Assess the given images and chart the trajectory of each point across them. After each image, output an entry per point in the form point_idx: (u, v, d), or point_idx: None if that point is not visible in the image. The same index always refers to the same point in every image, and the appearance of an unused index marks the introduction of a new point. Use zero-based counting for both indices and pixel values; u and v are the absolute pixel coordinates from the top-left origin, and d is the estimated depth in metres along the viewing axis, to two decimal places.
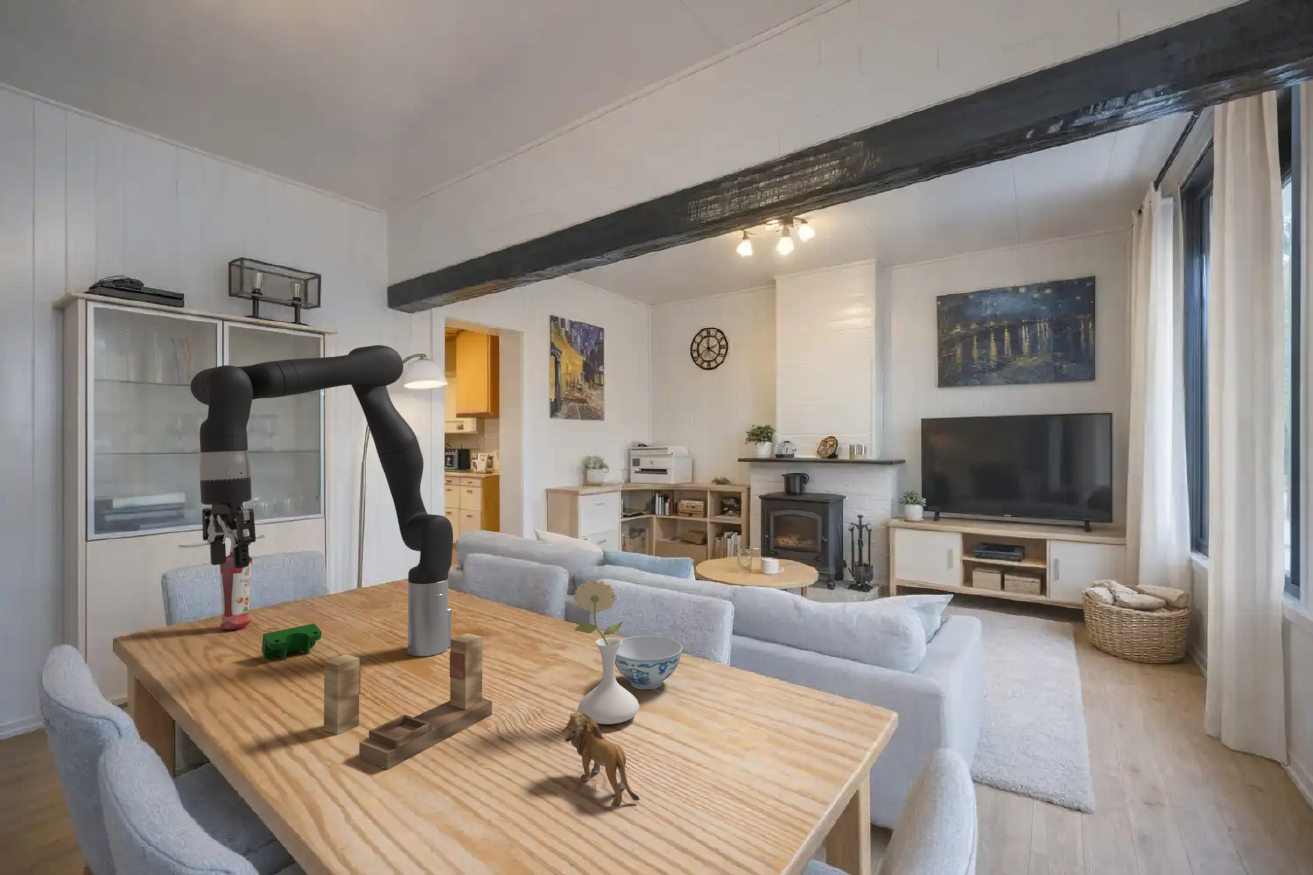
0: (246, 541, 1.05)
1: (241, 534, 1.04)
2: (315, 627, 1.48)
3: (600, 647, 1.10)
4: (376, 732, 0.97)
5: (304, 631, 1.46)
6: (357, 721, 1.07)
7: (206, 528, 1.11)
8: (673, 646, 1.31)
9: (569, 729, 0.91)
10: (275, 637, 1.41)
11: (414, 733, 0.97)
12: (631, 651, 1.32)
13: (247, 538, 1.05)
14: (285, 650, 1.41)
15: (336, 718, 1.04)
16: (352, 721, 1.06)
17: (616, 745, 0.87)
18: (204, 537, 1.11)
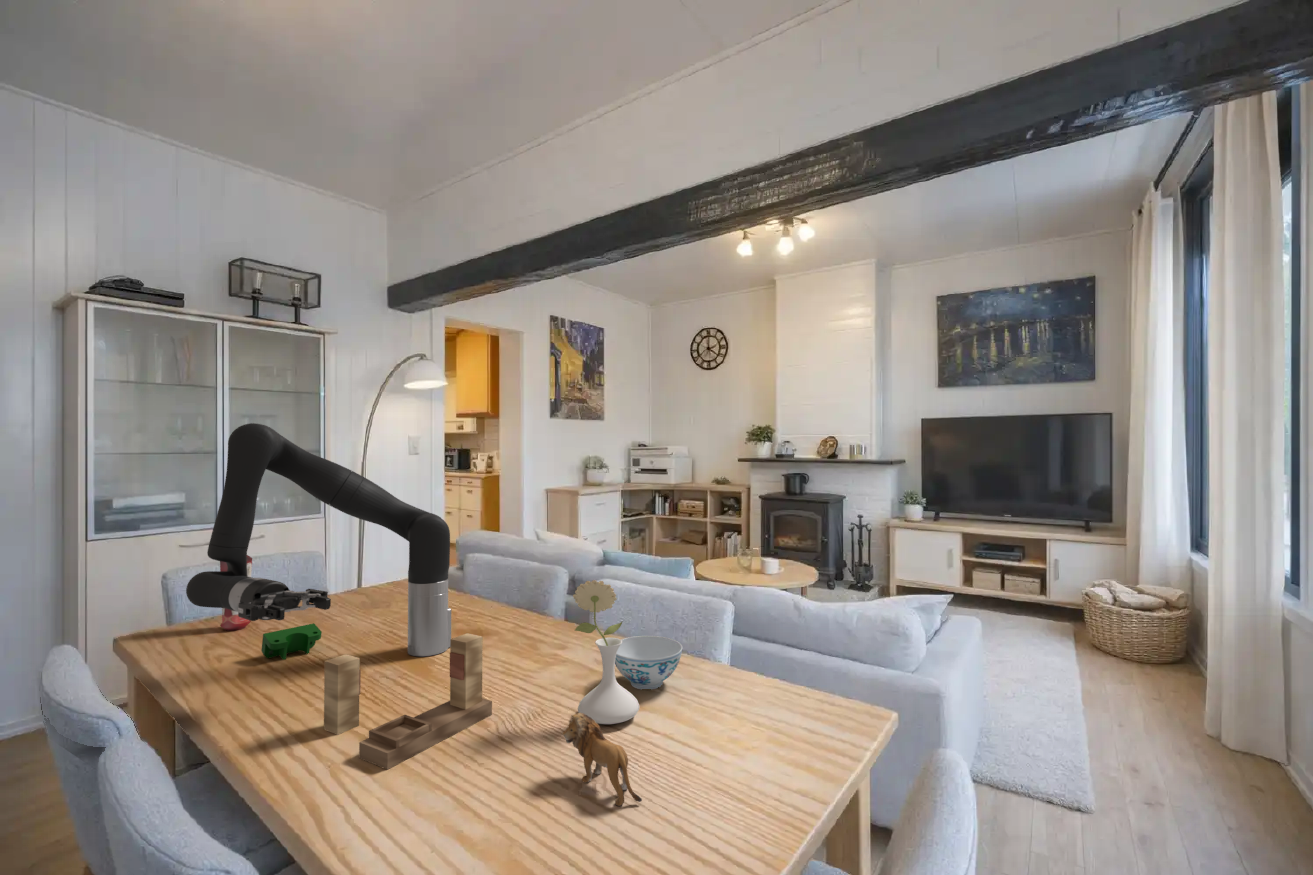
0: (251, 615, 1.09)
1: (247, 618, 1.09)
2: (315, 627, 1.49)
3: (600, 647, 1.10)
4: (376, 732, 0.97)
5: (304, 631, 1.46)
6: (357, 721, 1.07)
7: None
8: (673, 646, 1.31)
9: (571, 730, 0.91)
10: (275, 637, 1.41)
11: (414, 733, 0.97)
12: (631, 651, 1.32)
13: (250, 614, 1.09)
14: (285, 650, 1.41)
15: (336, 718, 1.04)
16: (352, 721, 1.06)
17: (618, 746, 0.87)
18: None
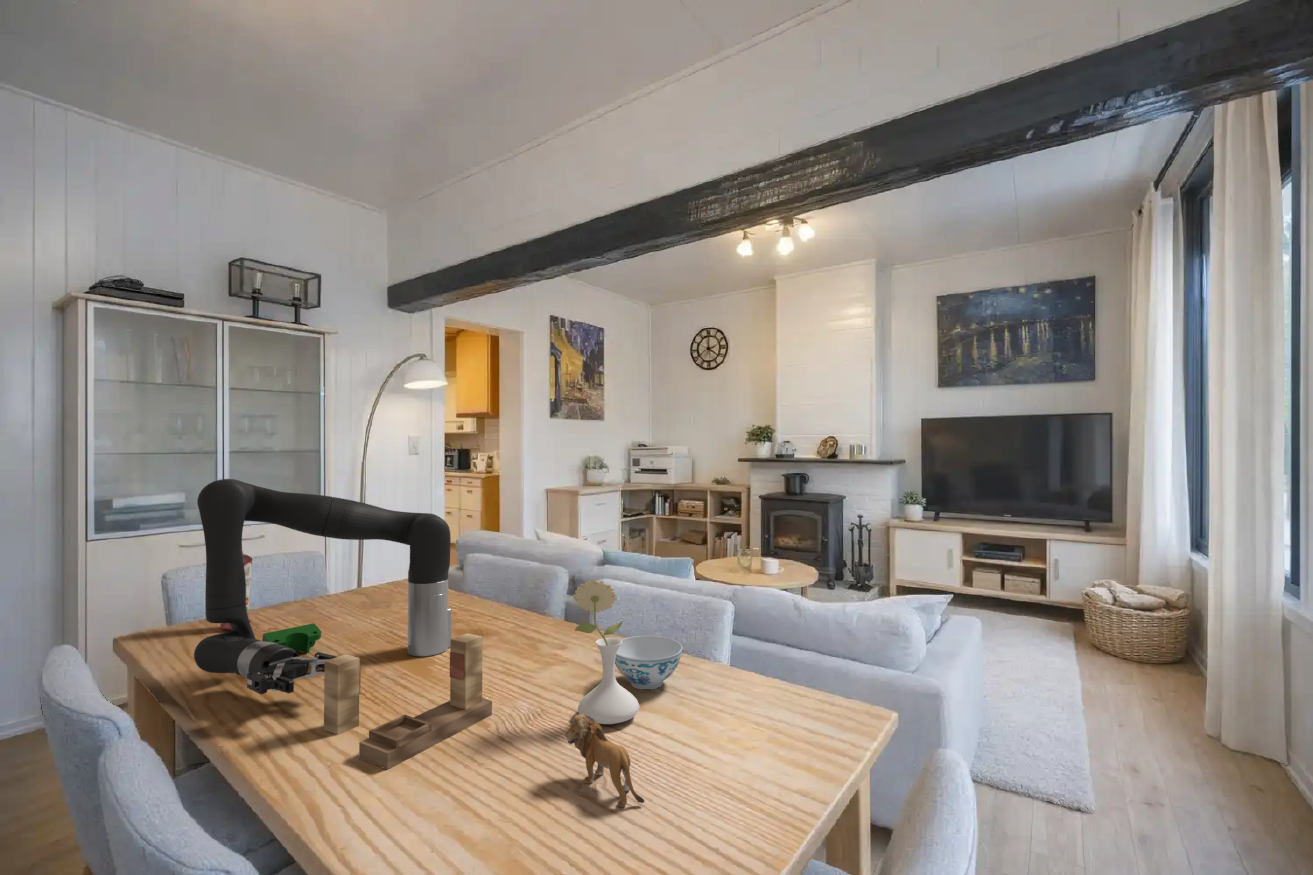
0: (260, 688, 1.07)
1: (256, 691, 1.08)
2: (315, 627, 1.49)
3: (600, 647, 1.10)
4: (376, 732, 0.97)
5: (304, 631, 1.46)
6: (357, 721, 1.07)
7: None
8: (673, 646, 1.31)
9: (572, 731, 0.90)
10: (274, 636, 1.41)
11: (414, 733, 0.97)
12: (631, 651, 1.32)
13: (259, 686, 1.07)
14: None
15: (336, 718, 1.04)
16: (352, 721, 1.06)
17: (620, 747, 0.86)
18: None
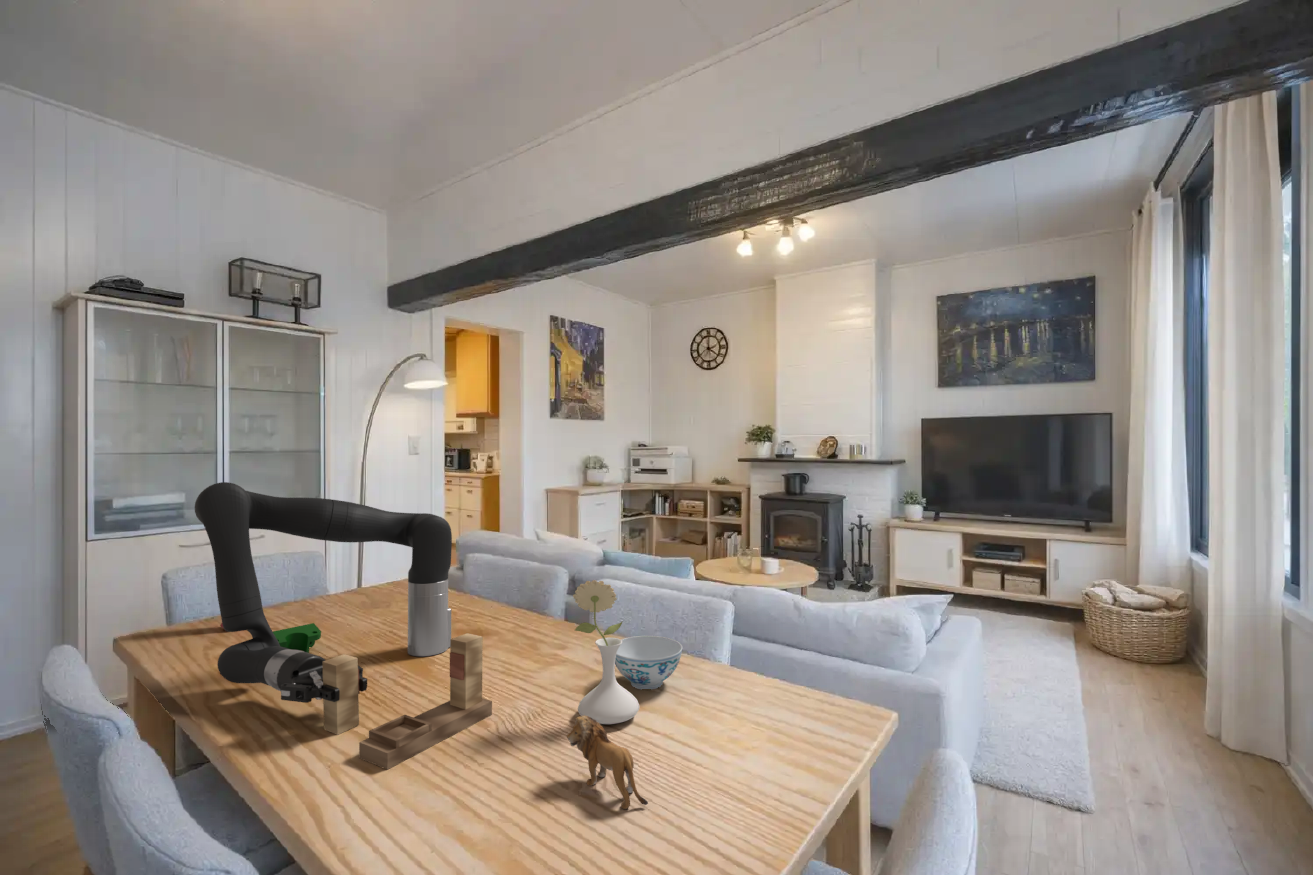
0: (305, 697, 1.03)
1: (299, 700, 1.04)
2: (315, 627, 1.49)
3: (600, 647, 1.10)
4: (376, 732, 0.97)
5: (304, 630, 1.46)
6: (357, 720, 1.07)
7: None
8: (673, 646, 1.31)
9: (575, 733, 0.90)
10: None
11: (414, 733, 0.97)
12: (631, 651, 1.32)
13: (303, 695, 1.04)
14: None
15: (336, 718, 1.04)
16: (352, 721, 1.06)
17: (624, 748, 0.86)
18: None
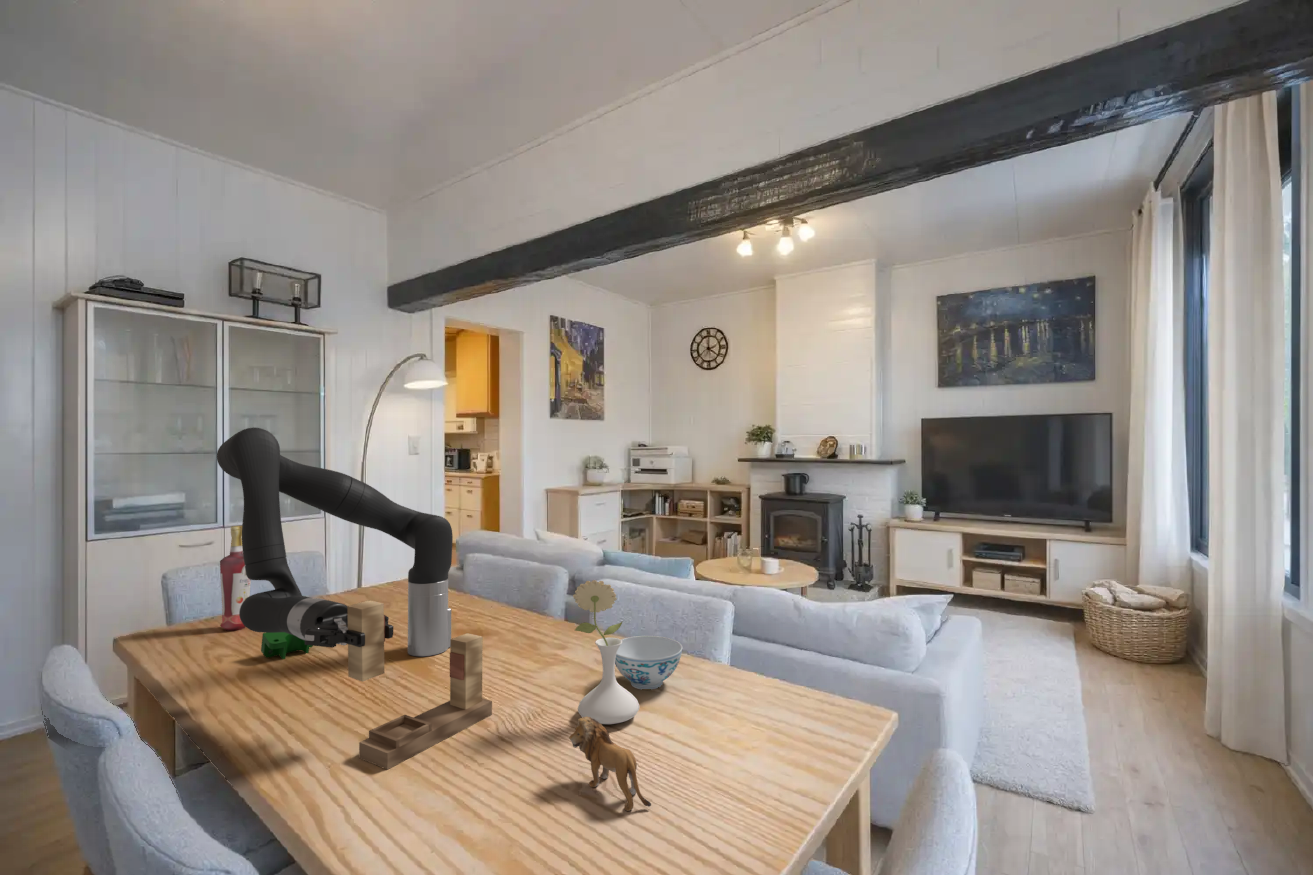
0: (329, 641, 0.99)
1: (324, 645, 0.99)
2: None
3: (600, 647, 1.10)
4: (376, 732, 0.97)
5: None
6: (382, 669, 1.03)
7: None
8: (673, 646, 1.31)
9: (577, 734, 0.89)
10: (274, 636, 1.42)
11: (414, 733, 0.97)
12: (631, 651, 1.32)
13: (328, 639, 0.99)
14: (285, 649, 1.41)
15: (361, 664, 1.00)
16: (377, 668, 1.02)
17: (627, 750, 0.85)
18: None
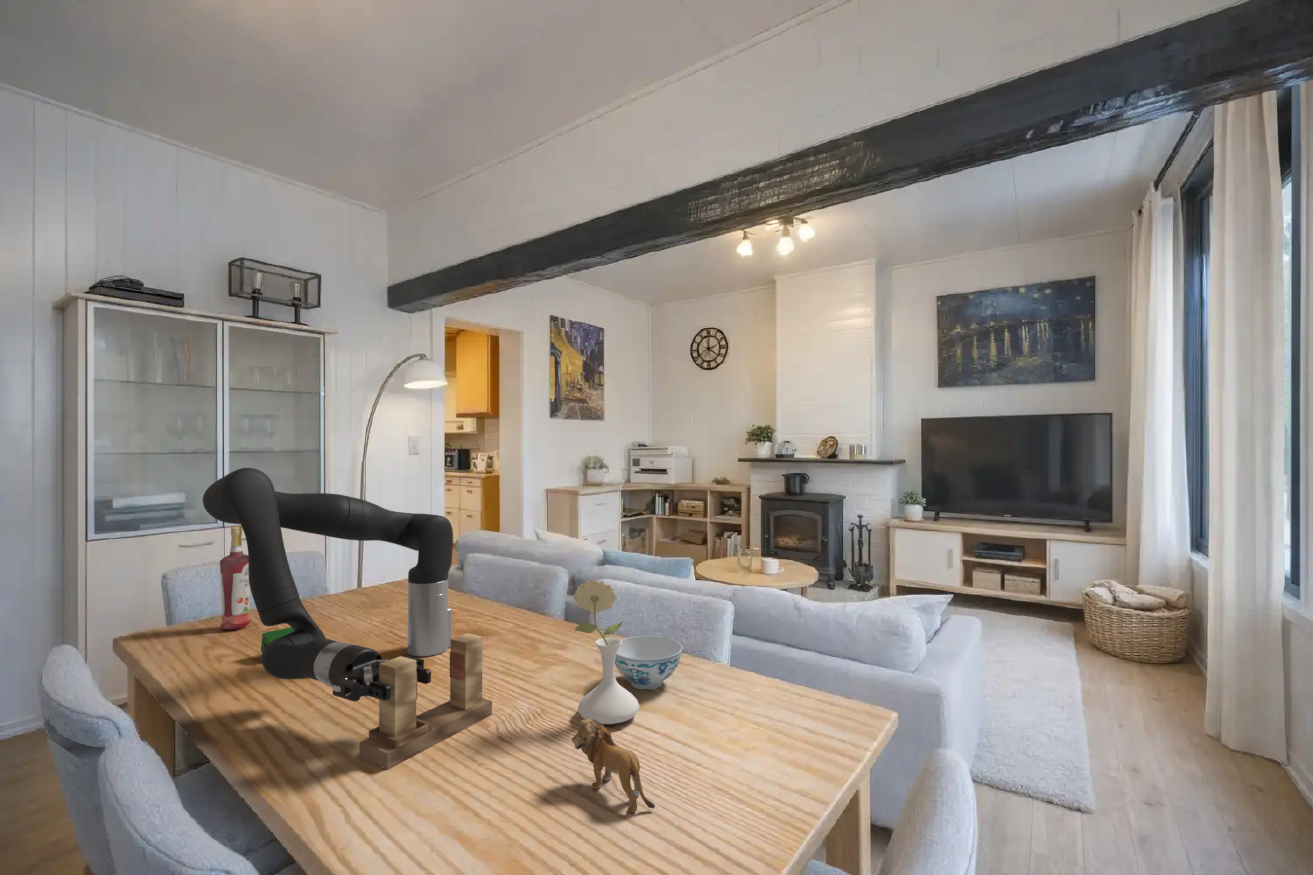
0: (353, 695, 0.95)
1: (347, 698, 0.95)
2: None
3: (600, 647, 1.10)
4: (376, 732, 0.97)
5: None
6: (414, 729, 0.99)
7: None
8: (673, 646, 1.31)
9: (580, 736, 0.89)
10: (274, 636, 1.42)
11: (414, 733, 0.97)
12: (631, 651, 1.32)
13: (351, 693, 0.95)
14: None
15: (393, 726, 0.96)
16: (409, 729, 0.98)
17: (630, 752, 0.85)
18: None
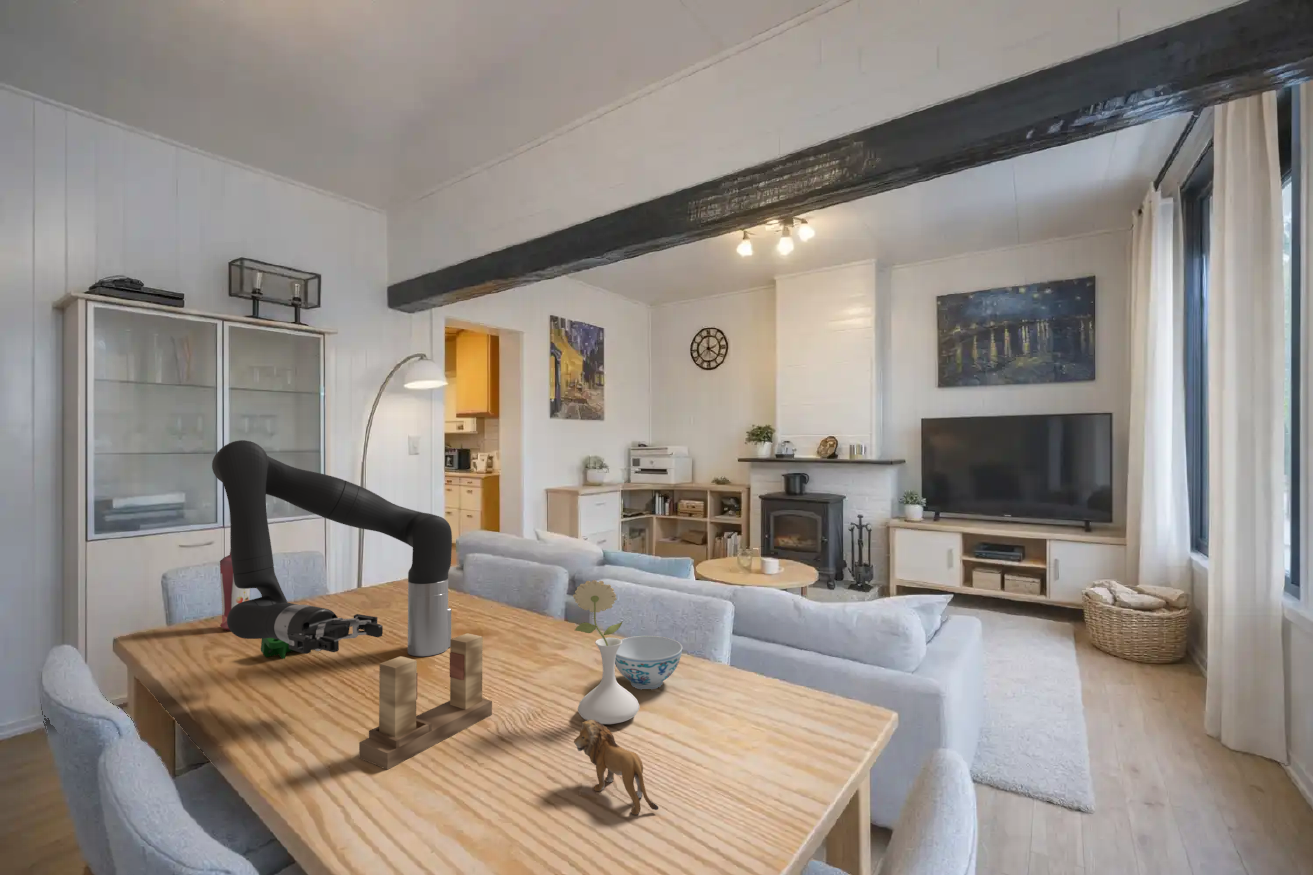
0: (304, 648, 1.04)
1: (300, 651, 1.04)
2: None
3: (600, 647, 1.10)
4: (376, 732, 0.97)
5: None
6: (414, 729, 0.99)
7: None
8: (673, 646, 1.31)
9: (582, 737, 0.88)
10: None
11: (414, 733, 0.97)
12: (631, 651, 1.32)
13: (303, 646, 1.04)
14: (284, 649, 1.41)
15: (393, 726, 0.96)
16: (409, 729, 0.98)
17: (633, 753, 0.85)
18: None
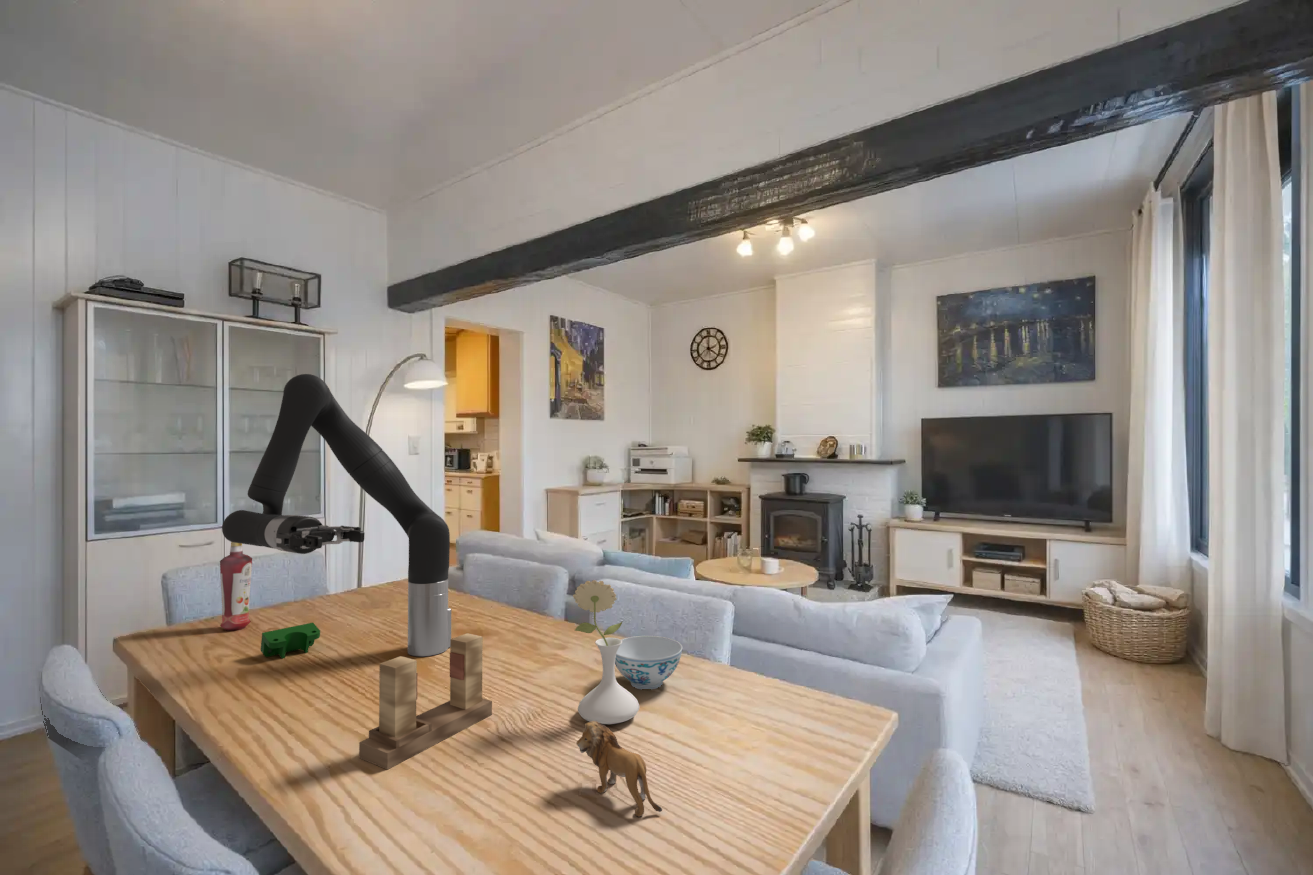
0: (290, 544, 1.12)
1: (286, 547, 1.13)
2: (314, 626, 1.49)
3: (600, 647, 1.10)
4: (376, 732, 0.97)
5: (303, 630, 1.47)
6: (414, 729, 0.99)
7: None
8: (673, 646, 1.31)
9: (585, 739, 0.88)
10: (274, 636, 1.42)
11: (414, 733, 0.97)
12: (631, 651, 1.32)
13: (289, 542, 1.12)
14: (284, 649, 1.41)
15: (393, 726, 0.96)
16: (409, 729, 0.98)
17: (636, 754, 0.84)
18: None
